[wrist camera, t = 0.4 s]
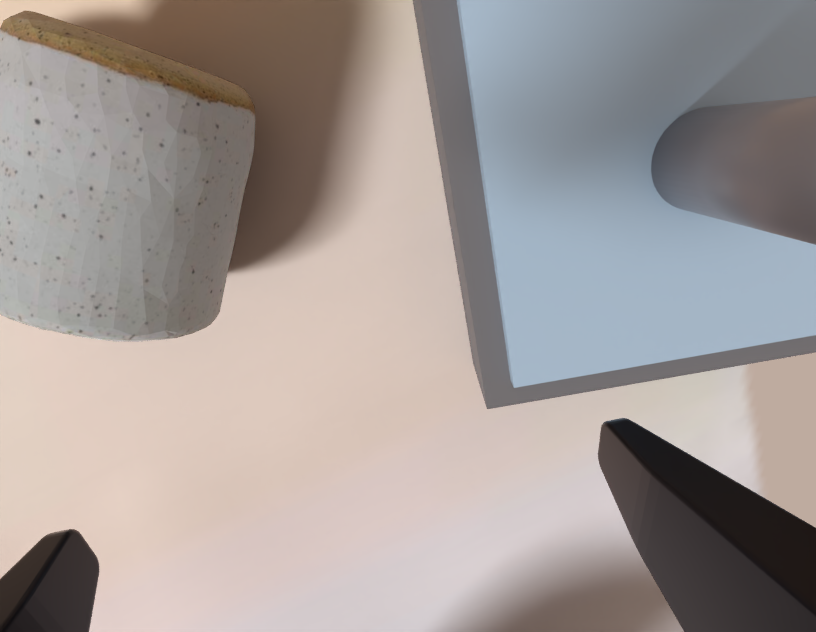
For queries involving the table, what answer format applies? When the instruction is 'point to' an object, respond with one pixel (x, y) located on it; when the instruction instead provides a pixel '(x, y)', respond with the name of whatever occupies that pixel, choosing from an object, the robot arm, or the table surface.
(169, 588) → the table surface
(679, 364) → the gray square slab
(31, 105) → the ceramic mug
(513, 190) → the square plate with knob
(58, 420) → the table surface
